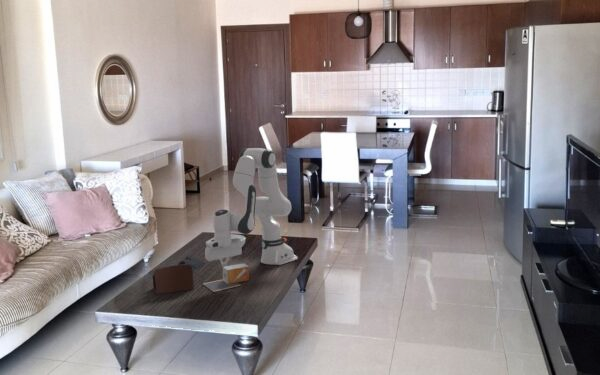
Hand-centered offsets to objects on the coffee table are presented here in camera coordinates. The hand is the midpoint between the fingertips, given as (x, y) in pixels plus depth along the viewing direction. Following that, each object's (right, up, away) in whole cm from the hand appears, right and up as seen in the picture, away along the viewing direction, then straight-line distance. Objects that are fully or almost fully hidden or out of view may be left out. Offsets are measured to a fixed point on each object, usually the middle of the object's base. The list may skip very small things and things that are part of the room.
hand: (224, 265), depth 312 cm
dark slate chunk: (-26, -6, +31) cm, 40 cm away
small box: (0, -6, +2) cm, 6 cm away
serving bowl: (-5, +2, +65) cm, 65 cm away
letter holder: (-27, -12, -1) cm, 29 cm away
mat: (-1, -11, +1) cm, 11 cm away
